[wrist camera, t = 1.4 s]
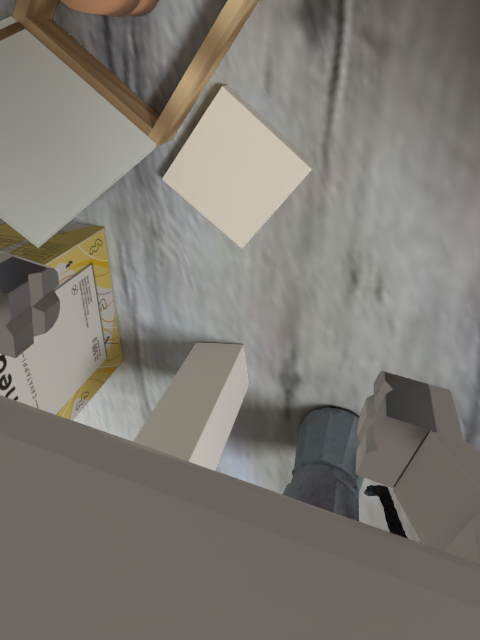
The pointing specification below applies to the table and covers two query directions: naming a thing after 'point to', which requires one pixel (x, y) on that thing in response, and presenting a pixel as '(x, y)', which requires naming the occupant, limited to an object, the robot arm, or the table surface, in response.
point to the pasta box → (67, 324)
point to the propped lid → (55, 139)
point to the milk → (199, 405)
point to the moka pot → (334, 467)
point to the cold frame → (36, 18)
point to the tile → (236, 167)
